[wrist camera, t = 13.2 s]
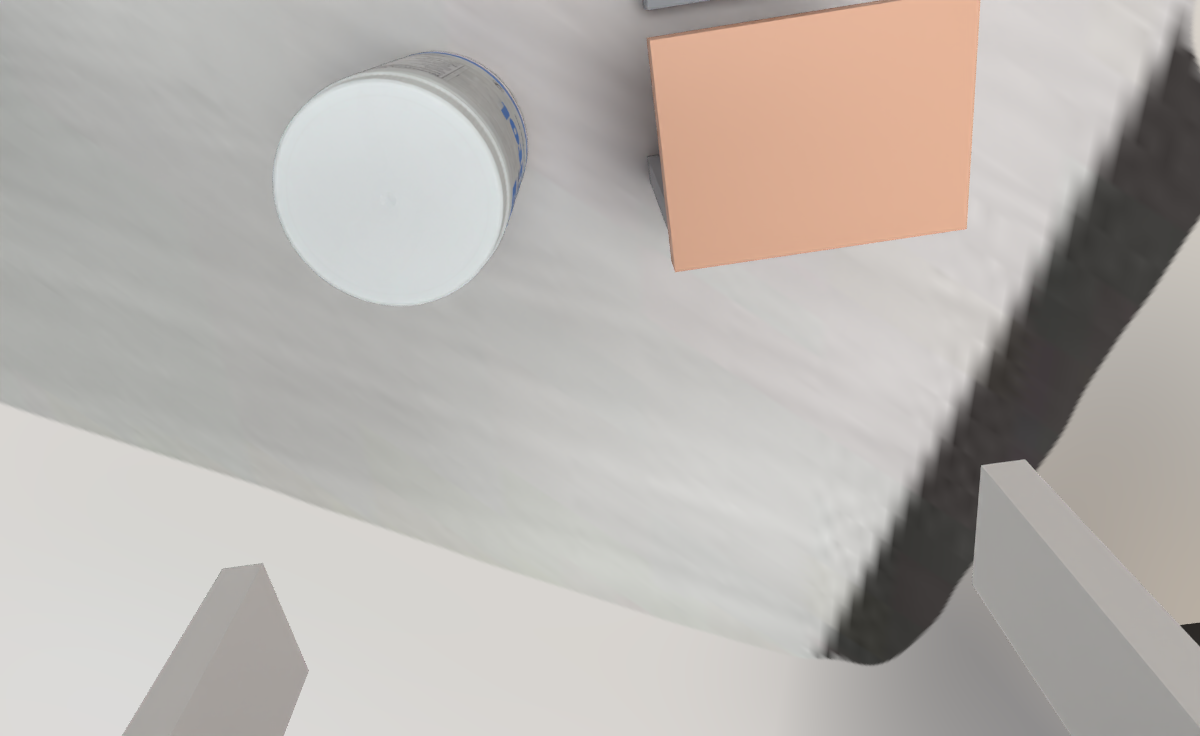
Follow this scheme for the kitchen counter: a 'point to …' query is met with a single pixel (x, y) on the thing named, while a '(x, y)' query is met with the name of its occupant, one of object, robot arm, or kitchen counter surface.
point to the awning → (814, 130)
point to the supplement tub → (402, 177)
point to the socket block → (666, 3)
